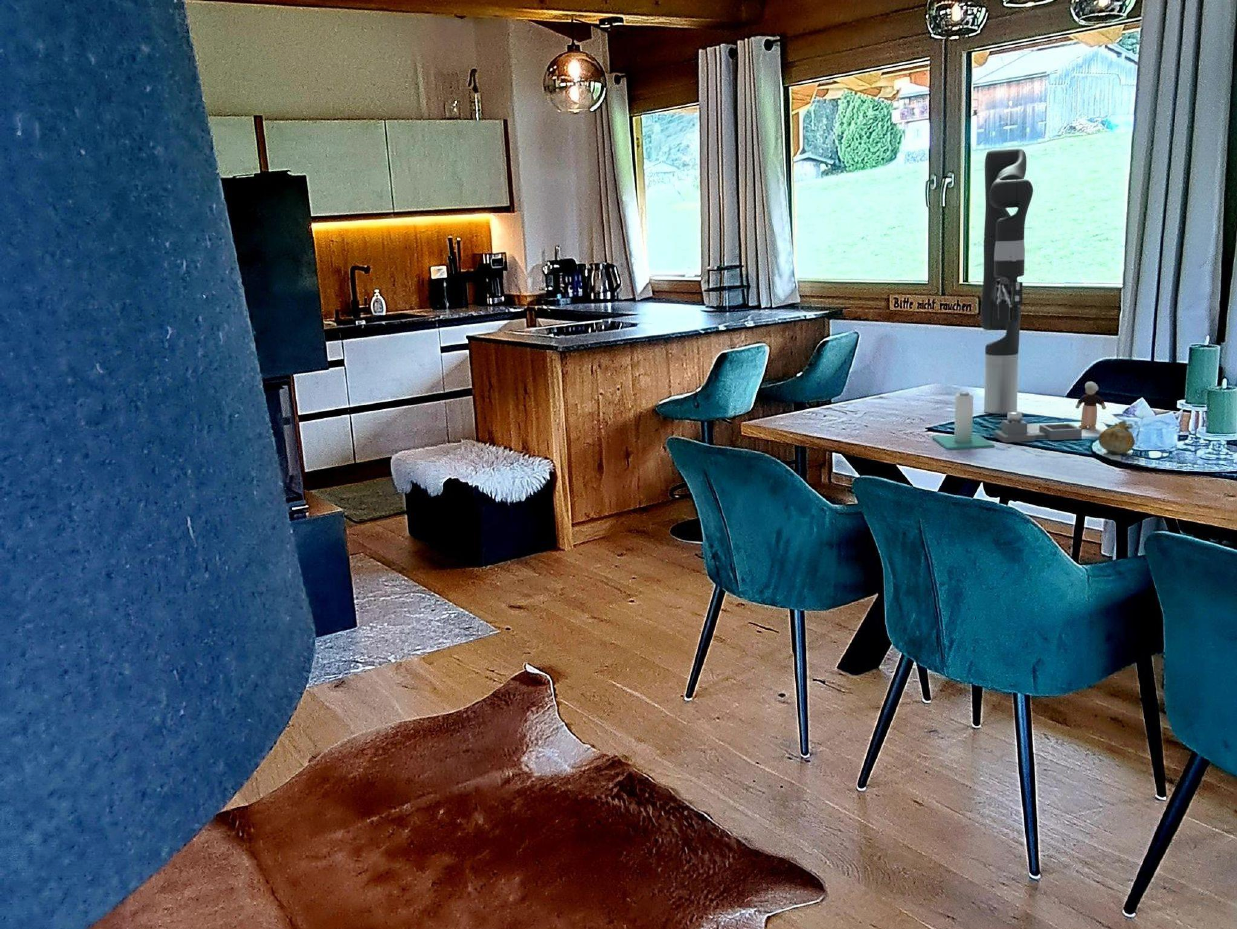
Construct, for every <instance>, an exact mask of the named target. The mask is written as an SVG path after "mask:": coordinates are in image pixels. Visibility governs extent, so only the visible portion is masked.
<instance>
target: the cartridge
mask: <svg viewBox="0 0 1237 929" xmlns="http://www.w3.org/2000/svg"><path fill="white" fill-rule="evenodd" d="M954 404H955V405H954V433H953V435H954V441H956V442H971V441H972V434H973V422H974V420H973V417H974V416H973V415H974V414H973V413H974V394H970V392H968V391H967V392H965V391H964V392H959V393H958V394H955V398H954Z"/></svg>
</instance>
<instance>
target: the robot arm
mask: <svg viewBox="0 0 1237 929" xmlns="http://www.w3.org/2000/svg"><path fill="white" fill-rule="evenodd" d="M1026 172H1027V155H1026V152H1025V151H1024V149H1022V148H1018V147H1013V148H997V149H990V150H988V151H987V152H986V155H985V159H984V189H985V190H984V191H985V193H984V194H985V195H984V196H985V199H984V200H985V211H984V212H985V213H984V215H985V216H984V232H983V282H982V291H981V302H980V304H981V305H980V312H979V314H980V316H979V318H980V325H981V328H982V329H983V330H984V331H1005V335H1004V336H1003V337H1001V338H1000V339H998V340H995V341H991V342H988V343H987V344H986V345H985V351H984V352H985V354H984V396H983V398H984V402H983V403H984V404H983V411H984V412H986V413H990V414H1007V413H1008V412H1018V387H1019V386H1018V385H1019V380H1018V379H1019V351H1020V350H1019V349H1020V348H1019V346H1020V332H1021V331H1020V329H1021V320H1022V319H1021V318H1022V305H1023V287H1024V286H1023V281H1019V280H1018V278H1019V277H1023V276H1024V275H1025V258H1026V248H1025V225H1026V218H1027V213H1028V210H1029V206H1030V204H1031V200H1032V198H1033V193H1034V187H1033V185H1032V182H1031V181H1030V180H1028V179H1025V177H1026ZM1010 208H1011V209H1013V208H1014V209H1015V208H1017V209H1016V212H1015V213H1014V214H1013V215H1011V214H1010V212H1009V211H1008V210H1007V209H1010Z"/></svg>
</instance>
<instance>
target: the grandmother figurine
mask: <svg viewBox="0 0 1237 929" xmlns="http://www.w3.org/2000/svg"><path fill="white" fill-rule="evenodd" d="M1084 388H1085V393H1086V394H1083V395H1082V396H1081V397H1080V398H1079V399H1078V400H1077V402H1076V405H1075V409H1080V407H1081V405H1082V404H1083V405H1082V411H1081V418H1080V424H1079V425H1078V427H1079V428H1081V429H1088V430H1096V429H1097V427H1096V425H1097V420H1098V407H1097V405H1099V406H1100V407H1101V409H1102V410H1106V409H1107V406H1106V404H1105V400H1104V399H1103V398H1101V397H1100V396H1099V395H1096V392H1097V391H1098V390H1099V386H1098V384H1096V382H1093V381H1087V382H1086V383H1085V385H1084Z"/></svg>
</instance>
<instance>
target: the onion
mask: <svg viewBox="0 0 1237 929" xmlns="http://www.w3.org/2000/svg"><path fill="white" fill-rule="evenodd" d="M1133 428H1134V424H1133V423H1127V421H1126V420H1122V421H1118V422H1117V423H1114V424H1112V425H1111V426H1109V427H1107V428H1106V429H1104V430H1103V431H1102V432H1101V433H1100V434H1099V435H1098V443H1099V446H1101V448H1102V450H1105V451H1106V452H1107V453H1110V454H1111V453H1113V455H1123V454H1127V453H1129V452H1130V451H1131V450H1132V449H1133V448H1134V446H1135V444H1136V440H1135V437H1134V436H1133V433H1132V432H1131V431H1130V430H1131V429H1133Z"/></svg>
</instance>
